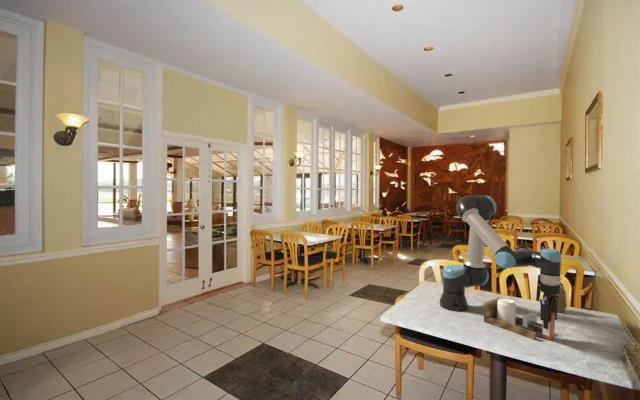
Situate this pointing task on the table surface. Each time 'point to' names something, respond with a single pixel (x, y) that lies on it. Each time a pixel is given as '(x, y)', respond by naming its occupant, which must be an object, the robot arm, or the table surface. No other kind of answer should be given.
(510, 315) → the beverage can
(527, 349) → the table surface
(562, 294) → the squeeze bottle
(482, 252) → the robot arm
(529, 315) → the plunger
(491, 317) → the cradle frame
